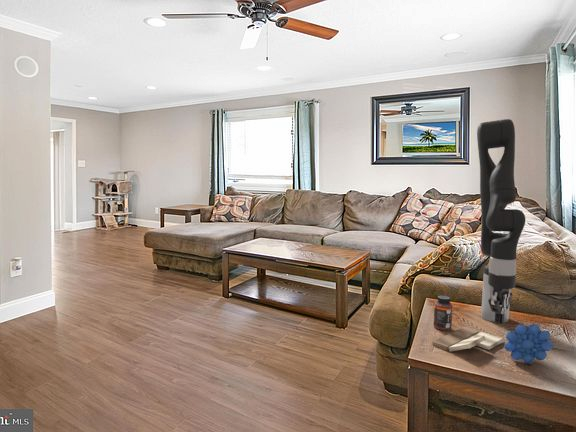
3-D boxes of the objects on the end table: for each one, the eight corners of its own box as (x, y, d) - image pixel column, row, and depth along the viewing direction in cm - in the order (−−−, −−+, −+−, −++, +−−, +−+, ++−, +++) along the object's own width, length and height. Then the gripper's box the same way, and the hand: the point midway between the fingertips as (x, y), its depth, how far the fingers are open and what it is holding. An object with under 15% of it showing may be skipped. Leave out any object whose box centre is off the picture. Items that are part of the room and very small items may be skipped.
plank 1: (465, 343, 118) (464, 339, 118) (485, 339, 112) (484, 335, 113) (449, 351, 112) (447, 347, 112) (469, 348, 106) (468, 344, 107)
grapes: (549, 362, 106) (552, 322, 104) (552, 372, 100) (555, 330, 99) (503, 352, 112) (505, 314, 110) (503, 361, 106) (506, 322, 105)
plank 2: (481, 335, 124) (481, 331, 124) (503, 341, 118) (503, 337, 118) (466, 342, 118) (466, 339, 118) (489, 349, 112) (489, 346, 112)
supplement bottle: (453, 331, 126) (454, 300, 125) (435, 330, 128) (436, 299, 127) (449, 325, 132) (450, 295, 131) (431, 323, 133) (433, 294, 132)
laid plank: (464, 329, 128) (464, 326, 128) (479, 334, 124) (480, 331, 124) (432, 344, 116) (432, 341, 116) (448, 351, 112) (448, 347, 112)
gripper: (498, 265, 122) (495, 314, 124) (480, 272, 114) (477, 325, 116) (523, 270, 116) (519, 321, 118) (506, 277, 108) (503, 333, 110)
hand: (499, 323), depth 117 cm, fingers closed
